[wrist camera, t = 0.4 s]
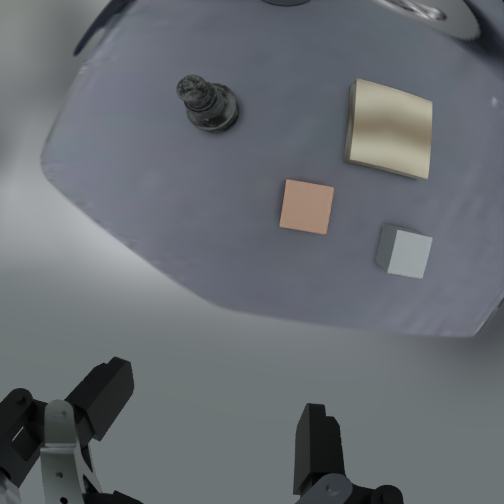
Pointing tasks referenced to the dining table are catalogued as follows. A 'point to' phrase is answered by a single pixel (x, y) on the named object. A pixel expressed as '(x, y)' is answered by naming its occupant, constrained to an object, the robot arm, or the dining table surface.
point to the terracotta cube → (306, 206)
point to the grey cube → (403, 251)
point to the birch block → (388, 130)
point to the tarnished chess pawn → (208, 104)
